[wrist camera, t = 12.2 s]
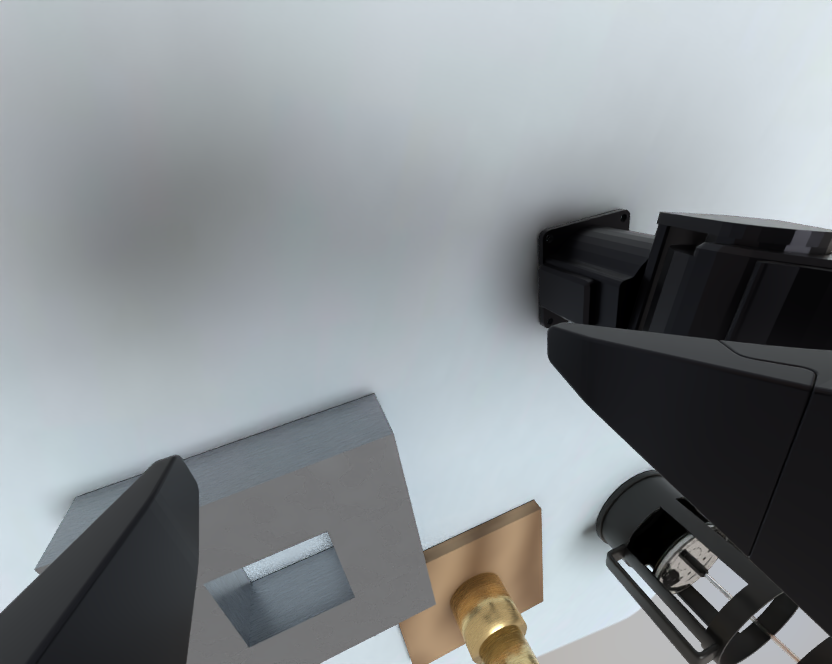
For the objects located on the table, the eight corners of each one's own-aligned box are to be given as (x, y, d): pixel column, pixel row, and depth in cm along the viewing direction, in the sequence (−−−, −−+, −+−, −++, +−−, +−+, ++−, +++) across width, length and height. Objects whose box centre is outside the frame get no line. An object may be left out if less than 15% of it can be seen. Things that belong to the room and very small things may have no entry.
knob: (498, 563, 33) (569, 685, 25) (502, 596, 35) (569, 716, 27) (446, 590, 32) (504, 726, 24) (454, 622, 34) (509, 755, 26)
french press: (678, 454, 39) (1115, 760, 19) (666, 515, 43) (1011, 818, 23) (583, 500, 36) (979, 917, 16) (580, 560, 40) (889, 950, 20)
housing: (374, 393, 23) (393, 433, 20) (416, 554, 30) (436, 604, 27) (75, 497, 19) (34, 569, 16) (205, 653, 27) (196, 726, 23)
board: (534, 499, 33) (541, 508, 32) (537, 591, 39) (543, 601, 38) (381, 571, 30) (384, 583, 29) (411, 658, 36) (414, 671, 35)
